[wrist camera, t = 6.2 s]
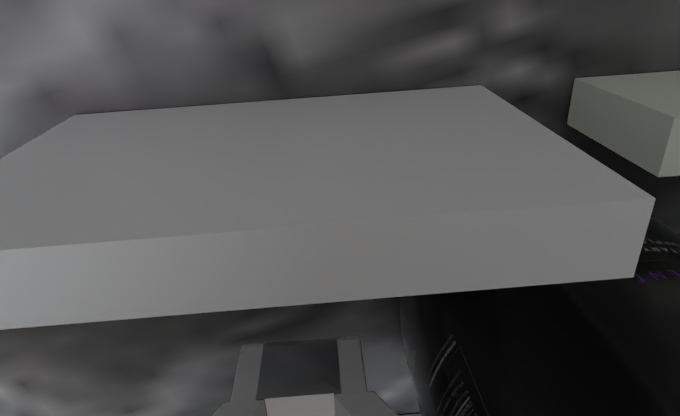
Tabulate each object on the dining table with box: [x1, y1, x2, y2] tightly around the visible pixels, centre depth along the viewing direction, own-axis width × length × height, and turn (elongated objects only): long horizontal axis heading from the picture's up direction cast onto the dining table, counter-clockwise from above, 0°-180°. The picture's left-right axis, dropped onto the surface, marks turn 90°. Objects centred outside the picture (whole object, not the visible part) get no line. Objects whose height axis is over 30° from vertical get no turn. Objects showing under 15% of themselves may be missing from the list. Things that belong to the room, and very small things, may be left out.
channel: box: [0, 85, 656, 416], centre depth 10 cm, size 11×8×6 cm
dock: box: [567, 71, 680, 177], centre depth 11 cm, size 11×5×3 cm, turn 3°
